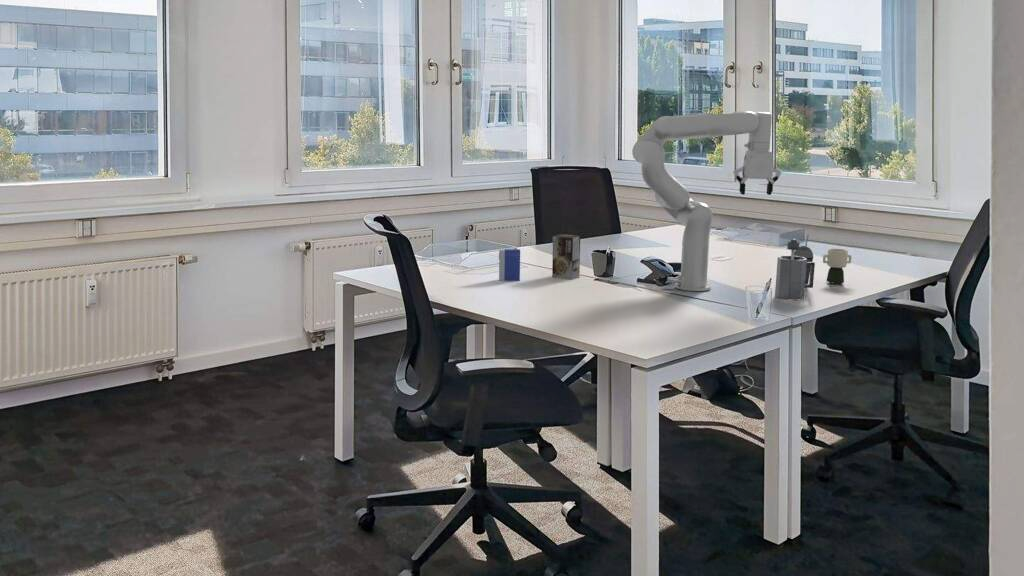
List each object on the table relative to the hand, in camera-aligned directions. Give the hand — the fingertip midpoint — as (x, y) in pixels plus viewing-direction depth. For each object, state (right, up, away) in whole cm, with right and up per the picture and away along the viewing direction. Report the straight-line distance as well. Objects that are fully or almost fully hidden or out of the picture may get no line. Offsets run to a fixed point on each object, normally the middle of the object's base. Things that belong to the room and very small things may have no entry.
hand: (755, 194), depth 333 cm
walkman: (-90, -31, +12) cm, 96 cm away
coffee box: (-68, -30, +20) cm, 77 cm away
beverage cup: (+19, -34, +7) cm, 39 cm away
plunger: (+9, -37, -10) cm, 40 cm away
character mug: (+34, -33, +15) cm, 50 cm away
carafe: (+11, -37, -10) cm, 40 cm away
